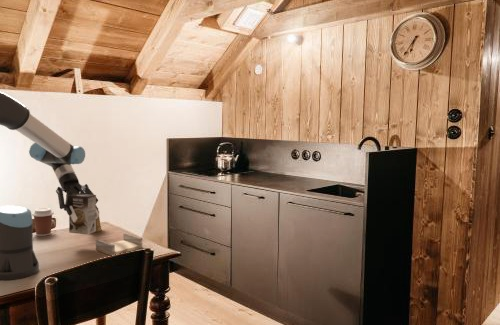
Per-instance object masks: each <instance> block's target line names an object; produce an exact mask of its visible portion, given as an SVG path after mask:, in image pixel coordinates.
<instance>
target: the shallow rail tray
mask: <svg viewBox="0 0 500 325" xmlns="http://www.w3.org/2000/svg"><path fill="white" fill-rule="evenodd" d="M142 248H143V237H140V236H137V235H133V234H130V233H127V232H125V233H123V240H118V241H115V242H114V241H113V242H110V243H109V242H107V241H104V240H101V239H95V250H97V251H99V252H102V253H104V254H107V255H109V256H112V255H113V256H115V255H114V254H117V255H120V254H119V253H121V254H123V252H124V253H127V252H132V251H134V250H135V251H136V250H139V249H142Z"/></svg>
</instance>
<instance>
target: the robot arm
mask: <svg viewBox="0 0 500 325" xmlns="http://www.w3.org/2000/svg"><path fill="white" fill-rule="evenodd" d="M0 126H2V127H6V128H7V129H9V130H10V131H17V132H18V133H20V134H22V135H23V136H25V137H26V138H27V139H29V140H30V141H32V142H33V143H32V144H31V145H30V147H29V150H28V152H29V153H28V154H29V156H30V157H31V158H33V159H34V160H35V161H37V162H40V163H43V164H44V165H47V166H49V167H51V168H52V170H53V172H54V174H55V176H56V179H57V181H58V183H59V185H60V186H58V187H57V188H56V189H55V193H56V195H57V197H58V205H59V209H60V210H62V209H63V210H64V211H65V212H66V213H67V215H68V216H69V215H70V216H71V218H72V220H73V222H76V220H77V219H78V218H77V216H76V214H75V212H74V210H73V207H72V206H70V201H69V195H72V194H78V193H79V194H90V195H95V194H94V193H93V192H92V190H91V189H90V188H89V185H88V184H87V183H86V184H84V185H82V184H80V181H79V178H78V176H77V174H76V172H75V169H74V168H73V166H72V165H80V164H82V163H83V162H84V161H85V158H86V151H85V149H84V148H83V147H82V146H78V145H72V144H71V143H70V142H69V141H67V140H66V139H64V138H63V137H62V136H60V135H59V134H58V133H56V132H55V131H54V130H52V129H51V128H50V127H49V126H48V125H46V124H44V123H43V122H41V120H39V119H37V118H36V117H35V116H34V115H32V114H31V111H30V109H29V108H28V107H27V106H25V105H24V104H23V103H21V102H20V101H18V100H17V99H15V98H13V97H12V96H10V95H8V94H7V93H4V92H2V91H0ZM64 193H66V195H65V197H64ZM98 202H99V199H98V198H97V197H96V204H97V203H98ZM69 206H70V207H69ZM97 209H98V211H99V207H98V206H97V205H96V219H97V218H98V216H99V217H100V212H99V213H98V211H97ZM32 214H33V213H32V211H31V210H30V209H29V208H27V207H24V206H21V205H2V206H0V281H1V280H2V281H7V280H8V281H11V280H18V279H23V278H27V277H30V276H33V275H36V273H38V272H39V270H40V263H39V261H38V258H37V256H36V253H35V251H34V246H33V245H34V240H33V239H34V238H33V237H34V234H33V232H34V231H33V223H34V221H33V215H32Z"/></svg>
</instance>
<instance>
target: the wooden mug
mask: <svg viewBox="0 0 500 325" xmlns="http://www.w3.org/2000/svg"><path fill="white" fill-rule="evenodd" d="M97 211H98V213H99V214H100V210H99V208H98V209H97ZM101 231H102V226H101V219H100V215H99V216H98V218H97V219H96V231H95V232H93V233H92V234H94V233H99V232H101Z"/></svg>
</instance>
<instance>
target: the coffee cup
mask: <svg viewBox="0 0 500 325" xmlns="http://www.w3.org/2000/svg"><path fill="white" fill-rule="evenodd" d="M31 214H32V217H33V218H34V221H33V222H34V227H35V236H37V237H45V236H49V235H52V224H53V222H52V221H53V220H52V219H53V215H54V211H53V210H52V208H50V207H39V208H35V209H34V211H33V212H32V213H31Z"/></svg>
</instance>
